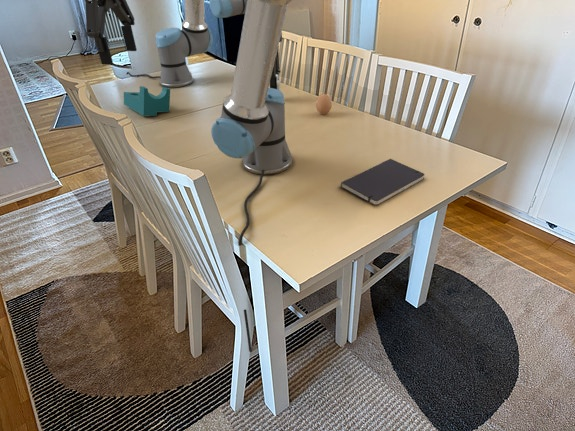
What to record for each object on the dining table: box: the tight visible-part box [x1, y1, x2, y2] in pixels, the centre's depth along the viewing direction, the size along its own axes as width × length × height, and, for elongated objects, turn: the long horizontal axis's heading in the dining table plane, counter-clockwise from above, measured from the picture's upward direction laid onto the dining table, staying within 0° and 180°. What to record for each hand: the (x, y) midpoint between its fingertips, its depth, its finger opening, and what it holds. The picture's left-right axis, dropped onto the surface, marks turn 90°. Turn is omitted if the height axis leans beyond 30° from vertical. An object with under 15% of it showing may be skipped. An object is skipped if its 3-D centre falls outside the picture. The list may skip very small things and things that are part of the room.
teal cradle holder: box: [123, 85, 171, 117], centre depth 163 cm, size 18×11×10 cm, turn 43°
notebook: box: [340, 158, 425, 206], centre depth 114 cm, size 13×2×21 cm
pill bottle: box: [269, 74, 281, 91], centre depth 168 cm, size 4×4×8 cm
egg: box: [315, 93, 333, 116], centre depth 155 cm, size 6×6×8 cm
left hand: (275, 90), depth 169 cm, fingers closed on pill bottle, 4 cm apart
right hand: (120, 57), depth 110 cm, fingers open, 13 cm apart
